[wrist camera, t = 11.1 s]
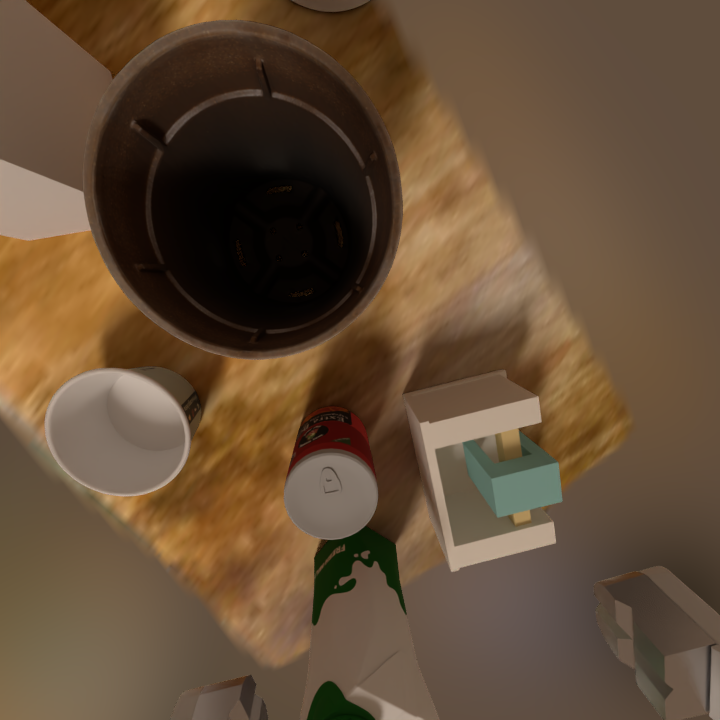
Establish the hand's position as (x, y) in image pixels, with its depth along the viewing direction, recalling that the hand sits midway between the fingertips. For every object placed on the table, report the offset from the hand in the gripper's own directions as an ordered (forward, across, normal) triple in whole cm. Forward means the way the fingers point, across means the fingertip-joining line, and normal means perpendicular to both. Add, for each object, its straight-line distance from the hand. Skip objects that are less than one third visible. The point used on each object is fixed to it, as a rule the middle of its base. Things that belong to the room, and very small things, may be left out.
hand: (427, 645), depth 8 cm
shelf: (+29, -10, +14) cm, 33 cm away
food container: (+30, +22, 0) cm, 37 cm away
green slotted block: (+26, -12, +14) cm, 32 cm away
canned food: (+29, +5, +8) cm, 31 cm away
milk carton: (+29, +6, +24) cm, 38 cm away
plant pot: (+30, +4, -12) cm, 33 cm away
